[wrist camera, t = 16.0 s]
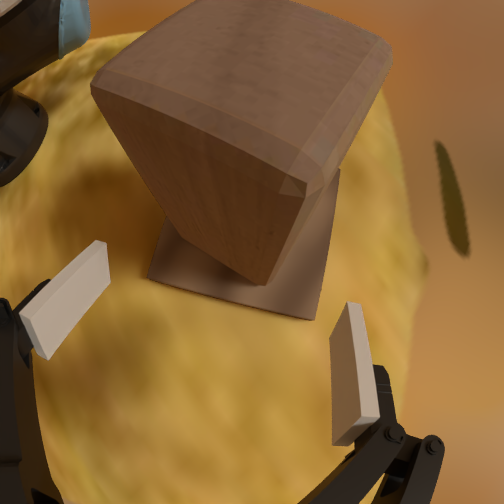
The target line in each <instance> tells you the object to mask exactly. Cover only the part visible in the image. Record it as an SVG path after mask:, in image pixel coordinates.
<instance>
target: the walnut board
mask: <svg viewBox="0 0 504 504" xmlns="http://www.w3.org/2000/svg"><path fill="white" fill-rule="evenodd" d="M339 177H340V169H339V168H338V170H337V172H336V173H335V175H334V177H333V179H332V181H331V183H330V184H329V186H328V188H327V190H326V192H325V193H324V195H323V197H322V199H321V200H320V202H319V204H318V206H317V208H316V209H315V211H314V213H313V215H312V216H311V218H310V220H309V221H308V223H307V225H306V226H305V228H304V230H303V231H302V233H301V235H300V237H299V238H298V240H297V242H296V243H295V245H294V247H293V248H292V250H291V252H290V253H289V255H288V257H287V258H286V260H285V261H284V263H283V265H282V266H281V268H280V270H279V271H278V273H277V275H276V276H275V278H274V279H273V281H272V282H271V283H269V284H268V285H266V286H261V285H256V284H255V283H253V282H251V281H250V280H248V279H247V278H245V277H243V276H242V275H240V274H238V273H237V272H235V271H234V270H232V269H230V268H229V267H227V266H226V265H224V264H222V263H221V262H219V261H218V260H216V259H215V258H213V257H211V256H210V255H208V254H207V253H205V252H203V251H202V250H200V249H199V248H197V247H196V246H194V245H192V244H191V243H189V242H188V241H186V240H185V239H183V238H182V237H181V236H180V234H179V233H178V231H177V230H176V228H175V227H174V225H173V224H172V223H171V221H170V220H169V218H168V217H167V216H166V218H165V221H164V224H163V227H162V230H161V233H160V236H159V239H158V242H157V245H156V249H155V252H154V255H153V258H152V261H151V265H150V268H149V271H148V275H147V278H149V279H150V280H153V281H156V282H160V283H163V284H167V285H170V286H174V287H177V288H181V289H184V290H188V291H192V292H195V293H199V294H203V295H207V296H210V297H214V298H218V299H222V300H226V301H230V302H233V303H237V304H241V305H245V306H249V307H254V308H258V309H262V310H266V311H270V312H275V313H279V314H283V315H288V316H292V317H297V318H301V319H306V320H310V321H312V320H315V316H316V311H317V307H318V302H319V297H320V292H321V287H322V282H323V277H324V272H325V266H326V261H327V255H328V250H329V244H330V238H331V232H332V226H333V219H334V213H335V206H336V199H337V192H338V185H339Z"/></svg>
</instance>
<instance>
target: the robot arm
mask: <svg viewBox="0 0 504 504" xmlns="http://www.w3.org/2000/svg"><path fill="white" fill-rule="evenodd" d="M90 25H91V24H90V14H89V5H88V0H0V186H3V185H5V184H7V183H9V182H10V181H11V180H13V179H14V178H15V177H16V176H17V175H19V174H20V173H21V172H22V171H23V169H24V168H25V167H26V166H27V165H28V164H29V162H30V161H31V160H32V158H33V157H34V155H35V154H36V152H37V151H38V149H39V147H40V145H41V143H42V141H43V139H44V137H45V134H46V131H47V127H48V114H47V112H46V111H45V110H44V108H43V107H42V106H41V104H40V103H38V102H37V101H35V100H33V99H31V98H29V97H27V96H26V95H24V94H22V93H20V92H18V91H16V90H14V88H13V87H14V86H16V85H17V84H19V83H20V82H22V81H23V80H25V79H26V78H28V77H29V76H31V75H32V74H34V73H36V72H37V71H39V70H40V69H42V68H44V67H46V66H47V65H49V64H51V63H52V62H54V61H56V60H58V59H59V60H60V59H62V58H63V57H64V56H65V55H66V54H68V53H70V52H72V51H73V50H75V49H77V48H79V47H81V46H82V45H83V44H85V42H86V41H87V40H88V38H89V35H90V30H91V28H90V27H91V26H90ZM110 283H111V281H110V273H109V264H108V254H107V243H105V242H101V241H98V240H95V241H94V242H93V243H92V244H91V245H89V246H88V247H87V248H86V249H85V250H84V251H82V252H81V253H80V254H79V255H78V256H77V257H76V258H75V259H74V260H72V261H71V262H70V263H69V264H68V265H67V266H66V267H65V268H64V269H63V270H62V271H60V272H59V273H58V274H57V275H56V276H55V277H54V278H53V279H52V280H51V279H47V280H45V281H43V282H41V283H40V284H39V285H38V286H37V287H36V288H35V289H34V291H32V292H31V293H30V294H29V295H28V296H27V297H26V298H25V299H24V300H23V301H22V302H21V303H20V304H19V305H18V306H17V307H16V308H15V309H14V310H13V311H12V309H11V306H10V304H9V302H8V300H7V299H5V298H0V504H64V503H63V500H62V497H61V494H60V492H59V490H58V488H57V487H56V485H55V484H54V482H53V480H52V478H51V474H50V471H49V467H48V463H47V459H46V455H45V451H44V446H43V441H42V436H41V431H40V426H39V420H38V413H37V406H36V398H35V389H34V379H33V365H32V354H31V349H32V348H33V347H34V348H35V351H36V353H37V355H39V356H41V357H43V358H44V359H46V360H48V361H49V359H50V358H51V356H52V355H53V354H54V352H55V351H56V350H57V348H58V347H59V346H60V344H61V343H62V342H63V340H64V339H65V338H66V337H67V335H68V334H69V333H70V331H71V330H72V329H73V328H74V326H75V325H76V324H77V323H78V321H79V320H80V319H81V318H82V316H83V315H84V314H85V313H86V311H87V310H88V309H89V308H90V306H91V305H92V304H93V303H94V302H95V300H96V299H97V298H98V297H99V296H100V295H101V293H102V292H103V291H104V290H105V289H106V287H107V286H108V285H109V284H110ZM329 341H330V360H331V387H332V445H333V446H349V445H351V444H352V443H353V442H354V443H355V449H354V450H353V451H351V452H350V453H349V454H348V455H346V456H345V459H344V460H343V461H342V462H341V463H340V464H339V465H338V466H337V467H336V468H335V469H334V470H333V471H332V472H331V473H330V474H329V475H328V476H327V477H326V478H325V479H324V480H323V481H322V482H321V483H320V484H319V485H318V486H317V487H316V488H315V489H314V490H313V491H311V492H310V493H309V494H308V495H307V496H306V497H305V498H303V499H302V500H301V501H300V502H299V503H298V504H359V502H360V501H361V500H362V499H363V498H364V497H365V496H366V494H367V493H368V492H369V491H370V490H371V488H372V487H373V486H374V485H375V483H376V482H377V481H378V480H379V478H380V477H381V476H382V475H383V473H385V475H384V477H383V480H382V482H381V484H380V486H379V488H378V491H377V493H376V495H375V497H374V499H373V501H372V503H371V504H430V501H431V498H432V495H433V492H434V489H435V486H436V483H437V479H438V476H439V472H440V468H441V465H442V461H443V457H444V451H445V447H444V443H443V442H442V440H441V439H440V438H439V437H437V436H435V435H428V436H426V437H425V438H424V439H419V438H416V437H413V436H410V435H408V434H406V432H405V430H404V428H403V427H402V426H401V425H400V424H398V423H397V420H396V414H395V407H394V401H393V396H392V394H391V393H392V390H391V386H390V379H389V375H388V373H387V371H386V370H385V368H384V366H380V365H373V364H372V359H371V353H370V348H369V342H368V337H367V332H366V327H365V322H364V317H363V312H362V308H361V304H358V303H353V302H349V301H347V303H346V305H345V307H344V309H343V311H342V313H341V316H340V318H339V320H338V322H337V324H336V326H335V328H334V330H333V332H332V334H331V336H330V338H329Z"/></svg>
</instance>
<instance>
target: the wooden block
mask: <svg viewBox="0 0 504 504" xmlns="http://www.w3.org/2000/svg"><path fill="white" fill-rule="evenodd" d="M392 64H393V58H392V47H391V45H390V44H388V43H387V42H386V41H385V40H384V39H383V38H382V37H380V36H378V35H376V34H374V33H372V32H370V31H368V30H366V29H363V28H361V27H359V26H357V25H355V24H352V23H350V22H348V21H345V20H343V19H340V18H338V17H336V16H333V15H330V14H328V13H325V12H322V11H320V10H317V9H314V8H311V7H308V6H305V5H302V4H299V3H296V2H292V1H289V0H196V1H194V2H192V3H191V4H189V5H187V6H186V7H184V8H182V9H180V10H179V11H177V12H176V13H174V14H173V15H171V16H169V17H168V18H166V19H165V20H163V21H162V22H160V23H159V24H157V25H156V26H154V27H153V28H151V29H150V30H148V31H147V32H146V33H144V34H143V35H142V36H140V37H139V38H137V39H136V40H135V41H133V42H132V43H131V44H130V45H128V46H127V47H126V48H124V49H123V50H122V51H121V52H119V53H118V54H117V55H116V56H115V57H113V58H112V59H111V60H110V61H109V62H108V63H106V64H105V65H104V66H103V67H102V68H101V69H100V70H98V71H97V73H96V75H95V76H94V78H93V79H92V81H91V83H90V87H91V95H92V97H93V98H94V100H95V102H96V104H97V106H98V107H99V109H100V111H101V113H102V114H103V116H104V118H105V119H106V121H107V123H108V124H109V126H110V128H111V129H112V131H113V133H114V134H115V136H116V137H117V139H118V141H119V142H120V144H121V146H122V147H123V149H124V150H125V152H126V154H127V155H128V157H129V158H130V160H131V162H132V163H133V165H134V166H135V168H136V169H137V171H138V173H139V174H140V176H141V177H142V179H143V180H144V182H145V183H146V185H147V186H148V188H149V190H150V191H151V193H152V194H153V196H154V197H155V199H156V200H157V202H158V203H159V205H160V206H161V208H162V209H163V211H164V212H165V214H166V215H167V217H168V218H169V220H170V221H171V223H172V224H173V225H174V227H175V228H176V230H177V231H178V233H179V234H180V236H181V237H182V238H183V239H185V240H186V241H188V242H189V243H191V244H192V245H194V246H196V247H197V248H199V249H200V250H202V251H203V252H205V253H207V254H208V255H210V256H211V257H213V258H215V259H216V260H218V261H219V262H221V263H222V264H224V265H226V266H227V267H229V268H230V269H232V270H234V271H235V272H237V273H238V274H240V275H242V276H243V277H245V278H247V279H248V280H250V281H251V282H253V283H255V284H256V285H261V286H266V285H268V284H269V283H271V282H272V281H273V279H274V278H275V276H276V275H277V273H278V271H279V270H280V268H281V266H282V265H283V263H284V261H285V260H286V258H287V257H288V255H289V253H290V252H291V250H292V248H293V247H294V245H295V243H296V242H297V240H298V238H299V237H300V235H301V233H302V231H303V230H304V228H305V226H306V225H307V223H308V221H309V220H310V218H311V216H312V215H313V213H314V211H315V209H316V208H317V206H318V204H319V202H320V200H321V199H322V197H323V195H324V193H325V192H326V190H327V188H328V186H329V184H330V183H331V181H332V179H333V177H334V175H335V173H336V172H337V170H338V168H339V166H340V164H341V162H342V161H343V159H344V157H345V155H346V153H347V151H348V149H349V148H350V146H351V144H352V142H353V140H354V138H355V136H356V134H357V133H358V131H359V129H360V127H361V125H362V123H363V121H364V119H365V117H366V115H367V113H368V112H369V110H370V108H371V106H372V104H373V102H374V100H375V98H376V96H377V94H378V92H379V90H380V88H381V86H382V84H383V82H384V80H385V78H386V76H387V74H388V72H389V70H390V68H391V66H392Z"/></svg>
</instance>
